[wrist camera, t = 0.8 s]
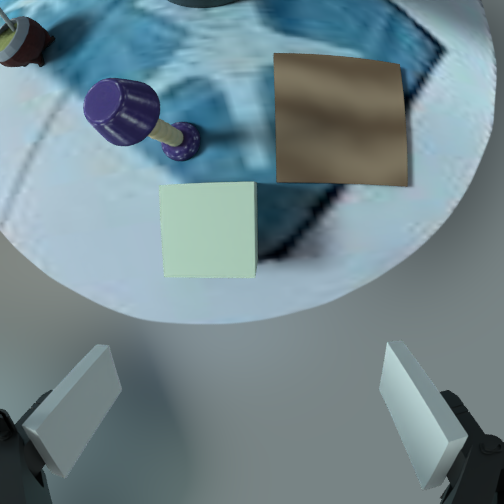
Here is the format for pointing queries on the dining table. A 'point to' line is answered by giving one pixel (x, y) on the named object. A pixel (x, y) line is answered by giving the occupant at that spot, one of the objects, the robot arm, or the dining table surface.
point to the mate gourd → (22, 41)
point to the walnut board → (339, 120)
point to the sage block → (209, 229)
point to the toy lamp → (136, 118)
